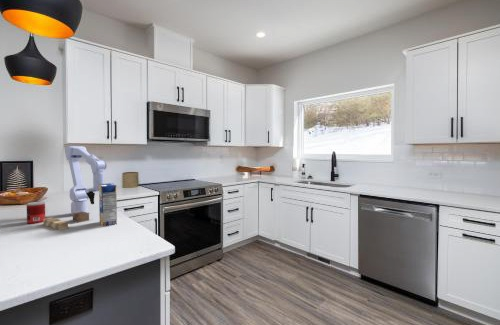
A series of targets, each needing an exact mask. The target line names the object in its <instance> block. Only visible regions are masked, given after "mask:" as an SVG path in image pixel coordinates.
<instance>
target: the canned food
mask: <svg viewBox="0 0 500 325" xmlns="http://www.w3.org/2000/svg"><path fill="white" fill-rule="evenodd" d="M43 219H46V202H45V201H34V202H27V203H26V222H27V224H29V225H33V224H34V225H36V224H40V223H44V222H43Z"/></svg>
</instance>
